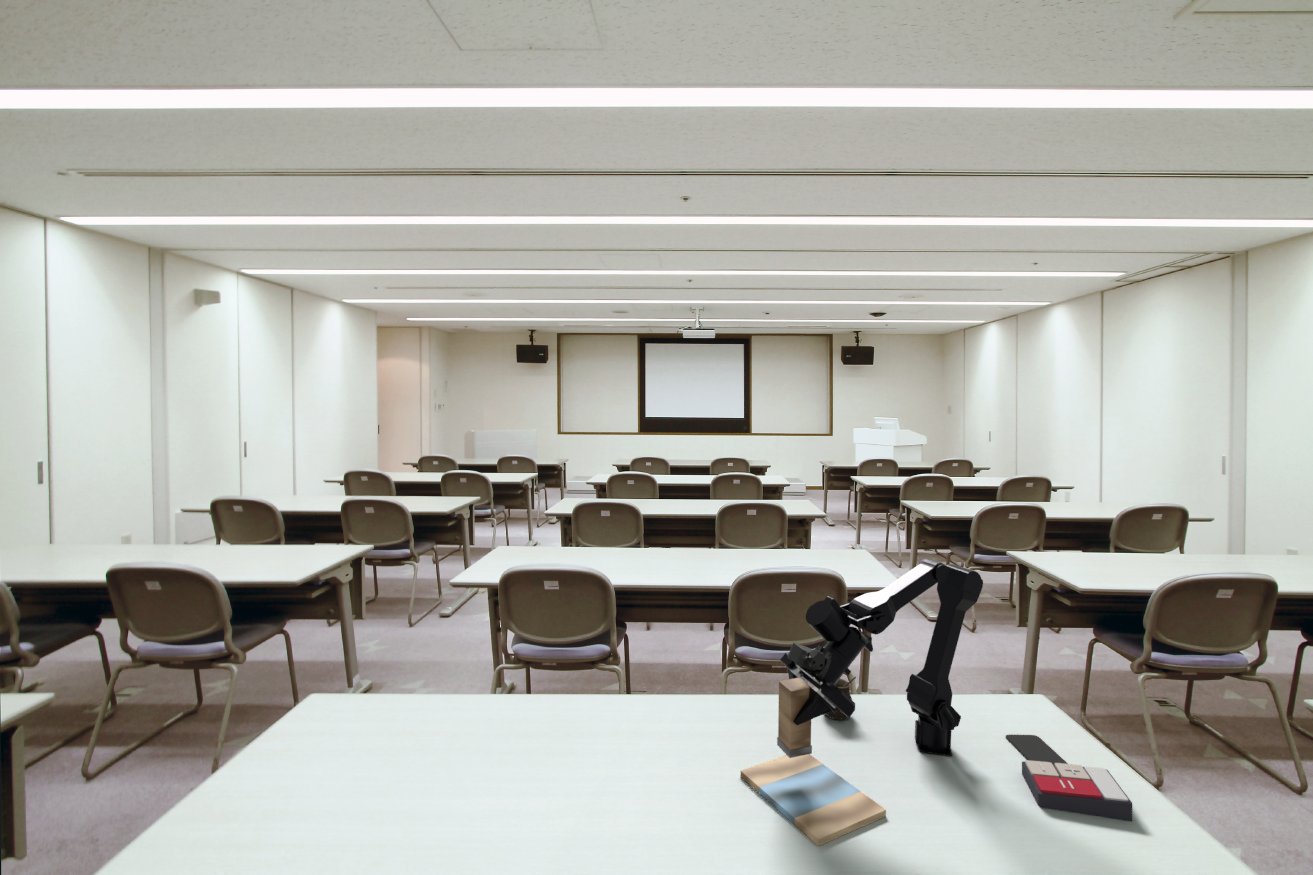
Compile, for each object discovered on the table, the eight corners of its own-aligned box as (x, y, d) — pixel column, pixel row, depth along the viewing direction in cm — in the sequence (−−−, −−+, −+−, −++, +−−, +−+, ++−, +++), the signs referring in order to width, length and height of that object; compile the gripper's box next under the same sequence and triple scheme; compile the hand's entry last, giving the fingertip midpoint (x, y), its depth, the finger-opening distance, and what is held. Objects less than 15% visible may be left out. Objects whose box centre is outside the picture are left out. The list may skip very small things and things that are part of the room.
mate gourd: (818, 706, 155) (820, 666, 154) (851, 709, 154) (852, 668, 153) (822, 721, 148) (824, 679, 147) (856, 724, 146) (858, 682, 146)
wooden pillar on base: (798, 740, 127) (799, 676, 126) (811, 753, 122) (812, 687, 121) (777, 744, 125) (777, 680, 124) (789, 757, 121) (790, 691, 120)
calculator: (1021, 756, 128) (1107, 764, 124) (1021, 777, 128) (1107, 786, 124) (1038, 789, 117) (1133, 799, 113) (1038, 812, 118) (1133, 822, 114)
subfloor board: (740, 776, 126) (740, 770, 126) (802, 754, 134) (802, 749, 134) (818, 845, 107) (818, 839, 107) (885, 815, 115) (886, 809, 115)
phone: (1037, 734, 142) (1080, 774, 127) (1036, 738, 142) (1080, 778, 127) (1003, 734, 142) (1042, 774, 127) (1003, 737, 142) (1042, 778, 127)
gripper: (788, 613, 132) (740, 672, 130) (842, 647, 115) (787, 717, 112) (821, 645, 135) (774, 703, 133) (878, 683, 118) (825, 752, 115)
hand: (788, 717), depth 123 cm, fingers closed on wooden pillar on base, 4 cm apart
